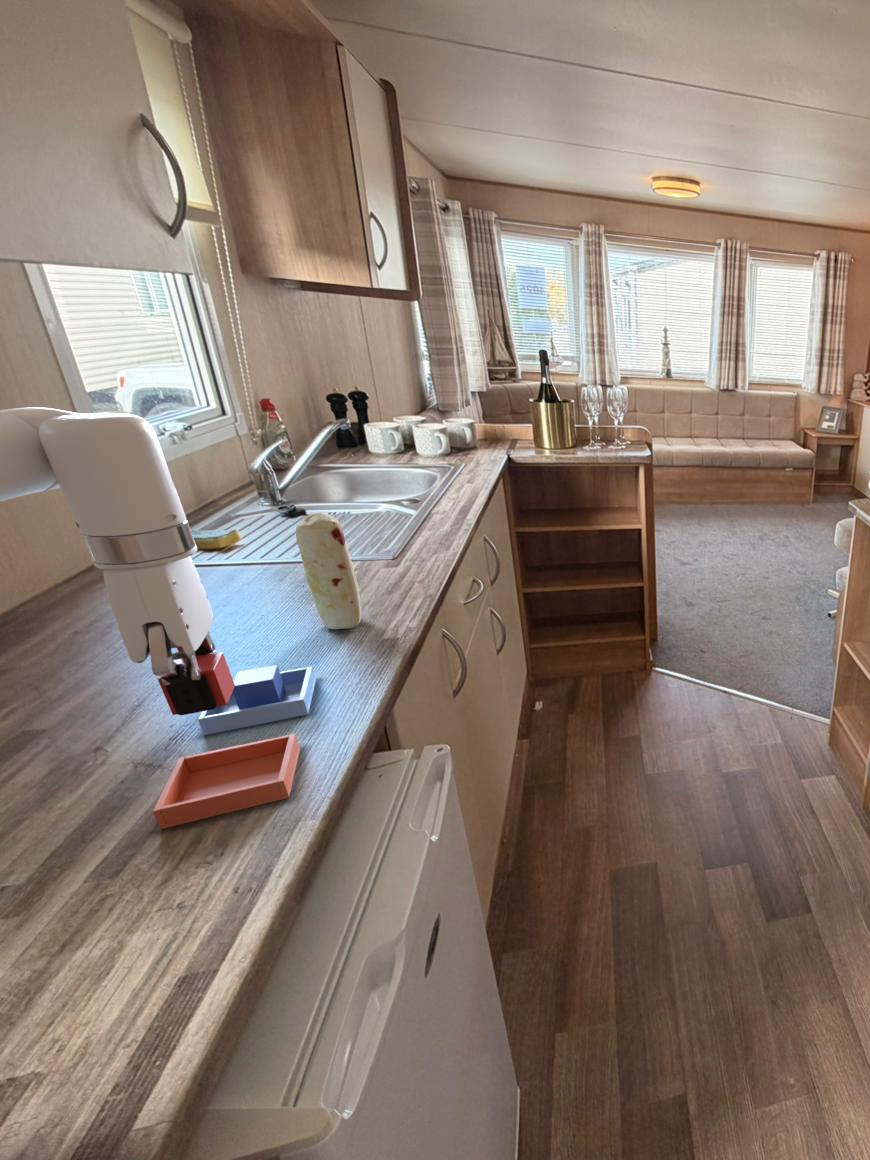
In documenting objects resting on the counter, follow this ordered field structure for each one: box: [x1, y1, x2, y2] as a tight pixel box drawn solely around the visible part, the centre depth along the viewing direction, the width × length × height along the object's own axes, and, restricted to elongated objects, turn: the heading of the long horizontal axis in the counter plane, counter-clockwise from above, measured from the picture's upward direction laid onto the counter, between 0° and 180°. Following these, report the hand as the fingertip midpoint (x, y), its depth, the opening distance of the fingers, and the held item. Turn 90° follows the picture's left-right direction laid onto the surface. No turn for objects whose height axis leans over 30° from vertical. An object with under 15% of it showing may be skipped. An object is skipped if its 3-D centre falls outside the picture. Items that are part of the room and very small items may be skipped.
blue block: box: [233, 664, 286, 710], centre depth 89 cm, size 4×4×4 cm
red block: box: [157, 651, 235, 716], centre depth 70 cm, size 4×4×4 cm
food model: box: [294, 512, 362, 630], centre depth 111 cm, size 10×7×20 cm
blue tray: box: [197, 666, 317, 736], centre depth 90 cm, size 11×10×2 cm
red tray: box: [152, 733, 301, 830], centre depth 75 cm, size 11×10×2 cm
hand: (203, 697), depth 70 cm, fingers closed on red block, 4 cm apart
